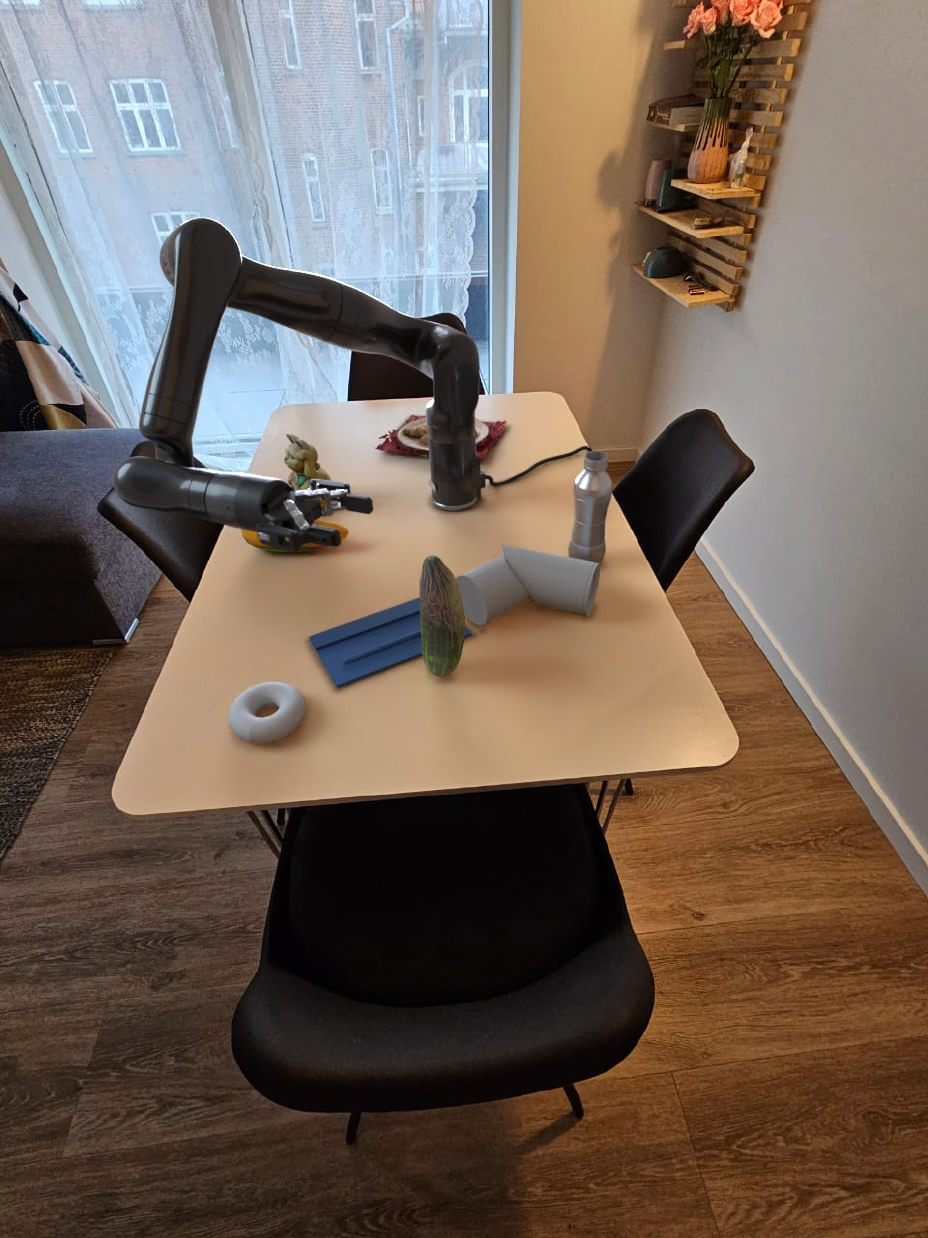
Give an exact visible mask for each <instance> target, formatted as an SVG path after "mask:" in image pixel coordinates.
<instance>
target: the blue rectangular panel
mask: <svg viewBox="0 0 928 1238" xmlns="http://www.w3.org/2000/svg"><path fill="white" fill-rule="evenodd" d="M472 636H473V634H472V632H471V631H470V630H469V629H468V627H467V626H466V625H465V637H464V640H465V639H467V638H470V637H472ZM308 639H309V641H310V643H311V645H312V647H313V648H314V650H315V652H316V654H317V655H318V657H319V659H320V661H321V662H322V664H323V667H324V668H325V669H326V671H327V673H328V675H329V677H330V679H331V680H332V682H333V684H334V685H335V687H336V689H338V688H342V687H344V686H346V685H349V684H353V683H354V682H357V681H359V680H362V679H364V678H367V677H370V676H372V675H375V674H377V673H379V672H383V671H385V670H388V669H390V668H392V667H395V666H398V665H401V664H403V663H406V662H408V661H411V660H413V659H416V658H418V657H421V656H423V654H422V635H421V616H420V596H419V597H416V598H414V599H411V600H409V601H405V602H403V603H400V604H397V605H394V606H392V607H388V608H386V609H383V610H380V611H377V612H375V613H372V614H369V615H366V616H363V617H359V618H357V619H355V620H352V621H349V622H346V623H343V624H340V625H338V626H335V627H332V628H329V629H327V630H323V631H321V632H318V633H315V634H312V635H309V636H308Z"/></svg>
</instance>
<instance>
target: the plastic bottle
mask: <svg viewBox="0 0 928 1238" xmlns="http://www.w3.org/2000/svg"><path fill="white" fill-rule="evenodd" d="M583 460H584V462H583V463H582V465H583V466H582V468H583V470H582V471H581V472H580V473H579V474H578V476H577V477H576V478H575V481H574V483H573V487H572V490H573V503H574V511H573V512H574V513H573V514H574V517H573V526H572V530H571V531H572V532H571V536H570V539H569V543H568V549H567V550H568V551H567V552H568V557H569V558H574V559H580V560H585V561H590V562H595V563H602V562H603V561H604V558H605V556H606V554H607V553H606V552H607V544H606V543H607V542H606V521H607V515H608V510H609V505H610V502H611V498H612V495H613V492H614V491H613V490H614V484H613V479H612V478H611V476H610V475H609V473H608V471H607V469H608V465H609V464H608V461H609V457H608V453H606V452H604V451H599V450H593V451H587V452H586V453H585V454H584V459H583Z"/></svg>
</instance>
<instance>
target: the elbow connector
mask: <svg viewBox="0 0 928 1238" xmlns="http://www.w3.org/2000/svg"><path fill="white" fill-rule="evenodd" d="M501 551H502V553H503V554H502V555H499V556H498V557H496V558H493V559H491V560H489V561H487V562H485V563H483V564H481V565H478V566H477V567H474V568H472V569H470V570H468V571H466V572H464V573H462V574H460V575H458V576H456V577H455V578H456V581H457V583H458V586H459V589H460V594H461V597H462V603H463V608H464V615H465V618H466V619H468V620H469V621H470V622H471V623H473V624H474V625H475V626H483V625H485V624H487V623H489V622H491V621H493V620H495V619H497V618H499V617H500V616H503V615H504V614H507V613H508V612H511V611H512V610H514V609H516V608H518V607H520V606H522V605H524V604H526V603H527V602H529V601H531V600H533V601H534V602H535V603H536V604H537V605H538V606H541V607H545V608H548V609H549V608H550V609H554V610H558V611H563V612H568V613H571V614H575V615H581V616H586V617H588V616H589V615H590V614H591V612H592V610H593V607H594V604H595V601H596V597H597V593H598V589H599V584H600V577H601V564H600V563H601V562H600V563H595V562H590V561H585V560H580V559H574V558H570V557H569V556H565V555H558V554H553V553H548V552H543V551H537V550H532V549H527V548H522V547H517V546H513V545H512V546H511V545H506V544H501Z"/></svg>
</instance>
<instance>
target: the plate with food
mask: <svg viewBox="0 0 928 1238" xmlns="http://www.w3.org/2000/svg"><path fill="white" fill-rule="evenodd" d="M507 422H508V421H507V420H505V419H504V420H502V421H500V420H499V419H498V420H496V421H495V422H492V421H481V420H479V419H478V418H476V417H475V433H476V454H477V455H479V456H480V460H483V459H484V457H485V455H486V454H487V453H488V451H489V450H491V448H492V447H493V445H495V444H496V443H497V441H499V439H500V437H501V434H502V432H503V431H504V426H506V424H507ZM381 439H385V440H384V441H383V442H382V443H379V444H378V445H376V447H374V449H375V450H379V451H382V452H385V454H386V453H389V452H394V453H397V455H399V456H400V455H401V456H403V455H407V454H408V455H412V456H414V455H416V456H422V457H424V458H427V457H428V458H429V455H426V454H423V453H420V452H417V451H425V452H426V451H428V452H429V448H428V434H427V421H426V414H425V415H420V416H419V415H415V414H411V415H410V416H409V417H408V418H407V419H406V420H405V422H404V423H403V424H402V425H401V426H399V427H398V428H397V429H392V431H391V430H388V433H385V434H383V435H381V436H380V437H378V440H381Z"/></svg>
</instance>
